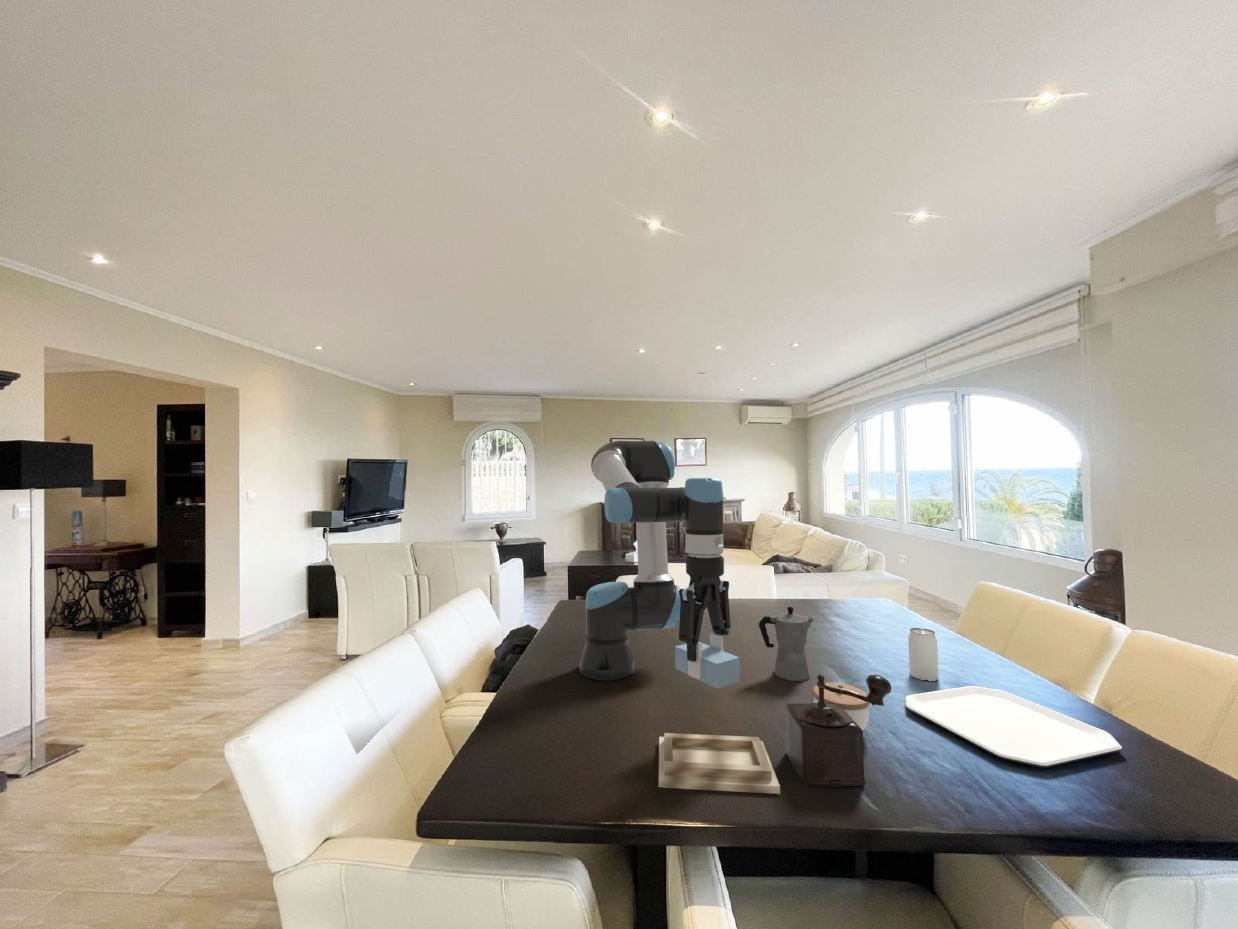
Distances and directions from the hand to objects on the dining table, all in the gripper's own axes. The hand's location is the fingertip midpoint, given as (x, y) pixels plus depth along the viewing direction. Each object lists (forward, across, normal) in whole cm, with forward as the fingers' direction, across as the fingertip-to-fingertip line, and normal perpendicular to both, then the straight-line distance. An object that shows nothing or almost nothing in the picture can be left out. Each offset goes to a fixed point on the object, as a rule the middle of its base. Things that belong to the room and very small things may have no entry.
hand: (706, 671), depth 94 cm
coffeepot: (+14, +44, +5) cm, 46 cm away
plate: (+15, +50, -39) cm, 65 cm away
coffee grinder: (+14, +10, -21) cm, 27 cm away
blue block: (+1, 0, 0) cm, 1 cm away
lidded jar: (+14, +24, -16) cm, 33 cm away
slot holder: (+14, -5, -5) cm, 16 cm away
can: (+14, +68, -20) cm, 72 cm away
